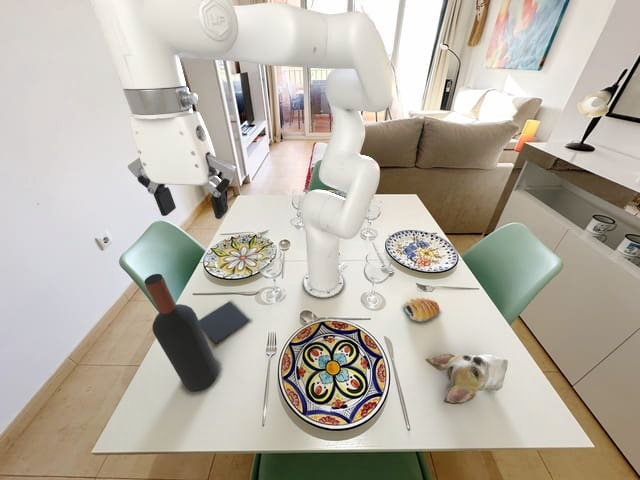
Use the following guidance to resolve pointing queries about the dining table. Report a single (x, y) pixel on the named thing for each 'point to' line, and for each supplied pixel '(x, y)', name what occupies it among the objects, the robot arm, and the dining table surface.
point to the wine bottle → (182, 338)
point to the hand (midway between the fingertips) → (195, 213)
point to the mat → (223, 322)
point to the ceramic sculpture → (470, 374)
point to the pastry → (421, 309)
